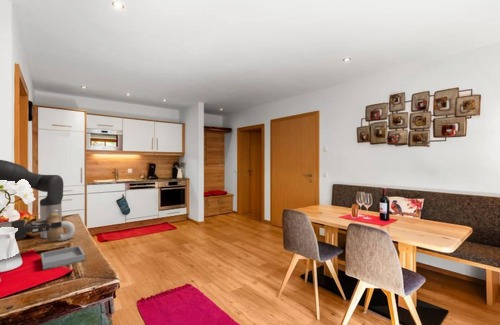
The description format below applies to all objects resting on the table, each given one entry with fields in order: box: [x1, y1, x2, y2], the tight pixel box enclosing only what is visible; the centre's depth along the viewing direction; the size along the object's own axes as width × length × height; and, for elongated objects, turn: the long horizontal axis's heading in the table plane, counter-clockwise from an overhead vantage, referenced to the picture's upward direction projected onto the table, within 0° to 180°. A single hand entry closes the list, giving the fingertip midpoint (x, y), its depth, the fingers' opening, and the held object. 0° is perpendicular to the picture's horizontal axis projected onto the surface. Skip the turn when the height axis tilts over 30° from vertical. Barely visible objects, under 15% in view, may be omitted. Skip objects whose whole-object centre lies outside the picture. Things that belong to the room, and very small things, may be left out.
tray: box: [40, 245, 86, 271], centre depth 104 cm, size 14×13×2 cm
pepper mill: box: [46, 213, 61, 242], centre depth 116 cm, size 5×5×12 cm
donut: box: [58, 220, 76, 242], centre depth 129 cm, size 10×4×10 cm, turn 130°
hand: (60, 223), depth 118 cm, fingers closed on pepper mill, 5 cm apart
